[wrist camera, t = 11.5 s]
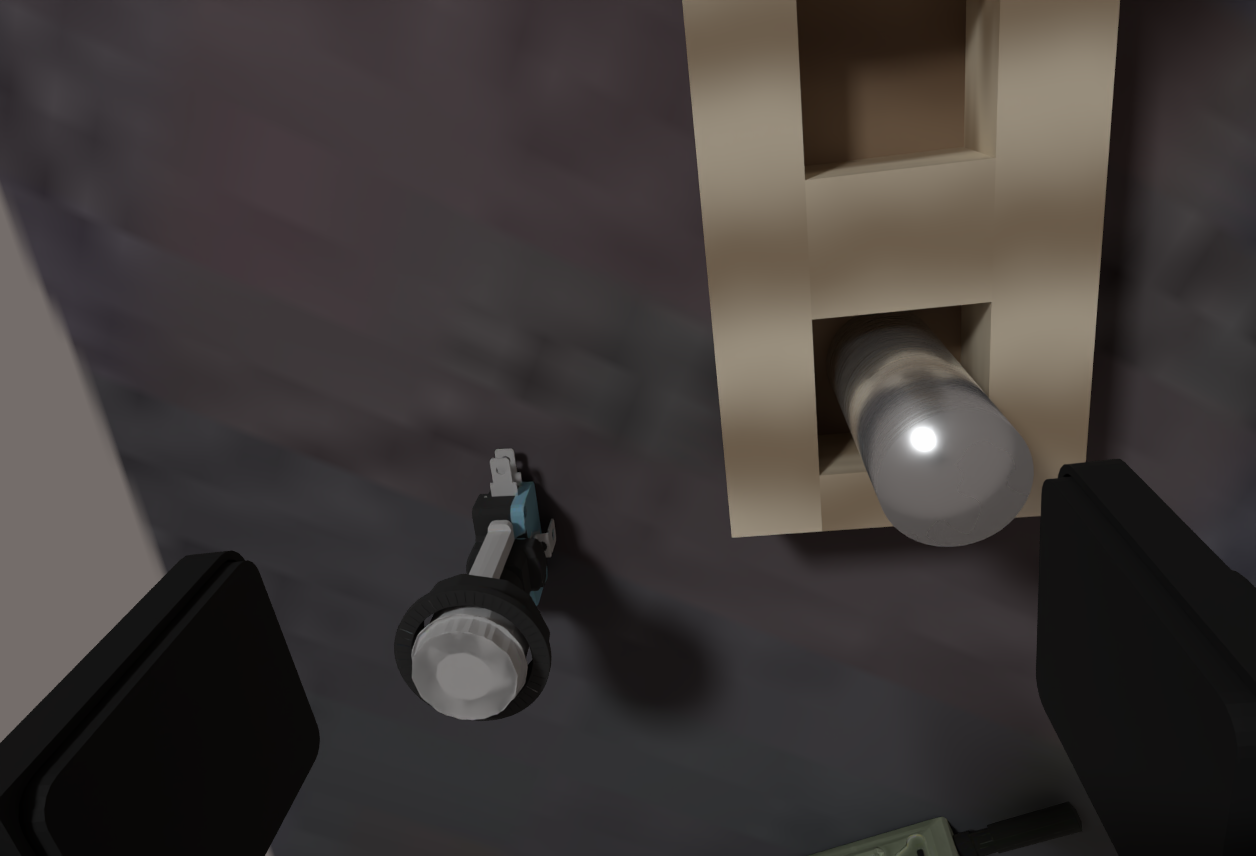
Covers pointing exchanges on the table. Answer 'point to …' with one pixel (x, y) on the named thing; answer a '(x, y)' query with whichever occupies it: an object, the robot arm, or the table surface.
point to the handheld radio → (966, 836)
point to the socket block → (896, 221)
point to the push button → (485, 612)
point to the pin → (927, 432)
